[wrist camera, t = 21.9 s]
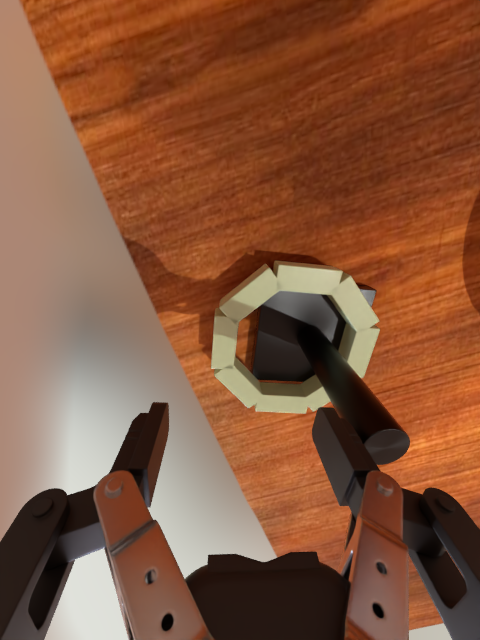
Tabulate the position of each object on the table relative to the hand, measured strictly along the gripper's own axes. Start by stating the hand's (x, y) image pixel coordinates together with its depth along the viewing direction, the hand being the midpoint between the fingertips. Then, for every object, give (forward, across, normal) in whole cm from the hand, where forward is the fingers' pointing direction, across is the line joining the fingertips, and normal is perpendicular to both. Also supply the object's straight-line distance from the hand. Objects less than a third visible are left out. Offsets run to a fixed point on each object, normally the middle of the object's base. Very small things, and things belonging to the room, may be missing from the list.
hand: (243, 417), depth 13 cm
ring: (+10, -5, 0) cm, 11 cm away
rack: (+12, -7, 0) cm, 14 cm away
